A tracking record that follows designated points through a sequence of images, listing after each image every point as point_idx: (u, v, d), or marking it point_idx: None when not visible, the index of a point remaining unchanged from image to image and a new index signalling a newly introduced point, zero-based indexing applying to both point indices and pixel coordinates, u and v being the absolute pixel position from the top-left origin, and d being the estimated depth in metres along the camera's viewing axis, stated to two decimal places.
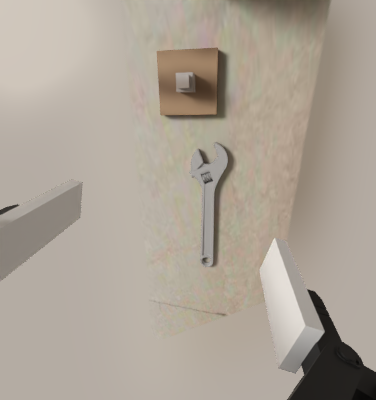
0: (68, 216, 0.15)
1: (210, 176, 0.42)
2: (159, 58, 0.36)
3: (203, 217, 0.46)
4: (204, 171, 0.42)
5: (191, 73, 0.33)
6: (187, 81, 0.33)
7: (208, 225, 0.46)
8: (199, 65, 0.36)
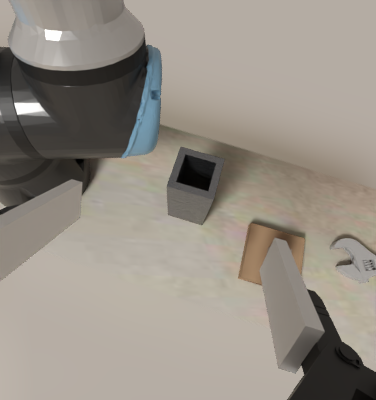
0: (68, 216, 0.15)
1: (368, 260, 0.39)
2: (247, 277, 0.37)
3: None
4: (362, 265, 0.39)
5: None
6: None
7: None
8: (261, 241, 0.39)
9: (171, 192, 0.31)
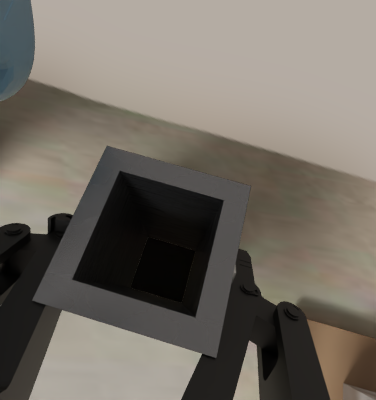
0: None
1: None
2: None
3: None
4: None
5: None
6: None
7: None
8: (326, 367, 0.17)
9: None
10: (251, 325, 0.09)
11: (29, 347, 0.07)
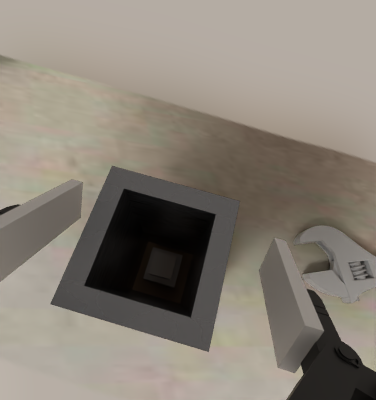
0: (68, 216, 0.15)
1: (358, 263, 0.23)
2: None
3: None
4: (349, 271, 0.22)
5: (154, 249, 0.19)
6: (165, 256, 0.17)
7: None
8: None
9: None
10: None
11: None
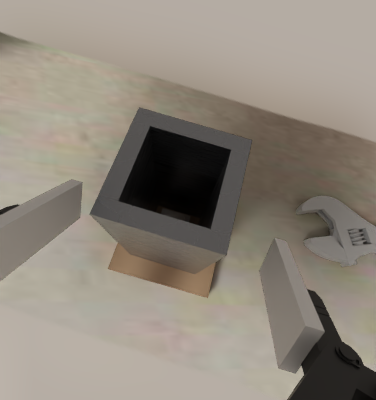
0: (68, 216, 0.15)
1: (356, 230, 0.24)
2: (120, 267, 0.21)
3: None
4: (347, 237, 0.24)
5: (163, 210, 0.20)
6: (175, 214, 0.19)
7: None
8: None
9: (111, 227, 0.12)
10: None
11: None
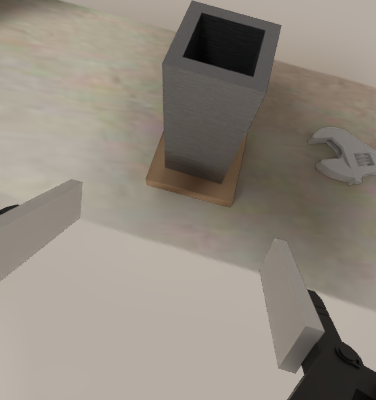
0: (68, 216, 0.15)
1: (361, 154, 0.27)
2: (156, 178, 0.24)
3: None
4: (354, 160, 0.27)
5: None
6: None
7: None
8: None
9: (172, 88, 0.15)
10: None
11: None
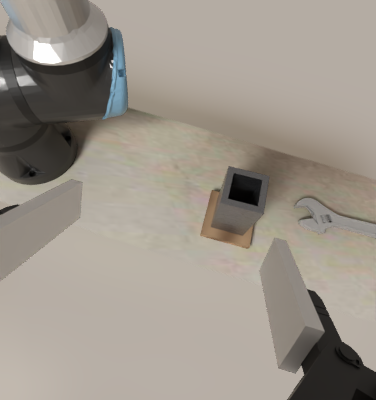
0: (68, 216, 0.15)
1: (325, 215, 0.47)
2: (206, 233, 0.44)
3: (366, 231, 0.46)
4: (320, 219, 0.46)
5: None
6: None
7: (375, 229, 0.46)
8: None
9: (222, 208, 0.34)
10: None
11: None
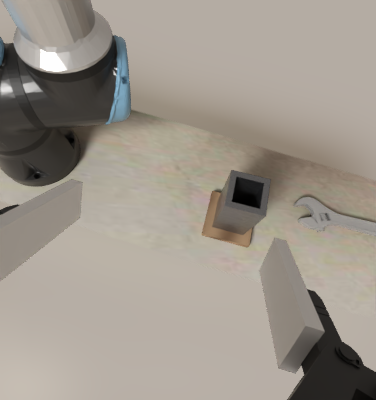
0: (68, 216, 0.15)
1: (323, 213, 0.48)
2: (207, 232, 0.45)
3: (364, 229, 0.48)
4: (319, 217, 0.48)
5: None
6: None
7: (372, 226, 0.48)
8: None
9: (226, 210, 0.36)
10: None
11: None
